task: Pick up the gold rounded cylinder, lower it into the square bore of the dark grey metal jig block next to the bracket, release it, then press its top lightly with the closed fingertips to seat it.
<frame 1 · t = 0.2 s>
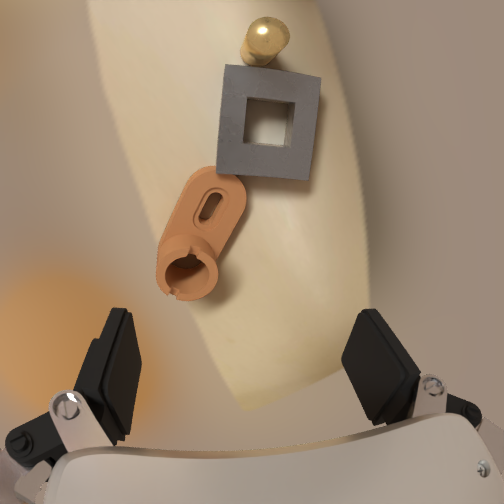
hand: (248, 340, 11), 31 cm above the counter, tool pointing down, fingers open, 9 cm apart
jig: (264, 122, 35), on the counter
bracket: (198, 222, 41), on the counter, touching jig
gold rounded cylinder: (256, 52, 31), on the counter
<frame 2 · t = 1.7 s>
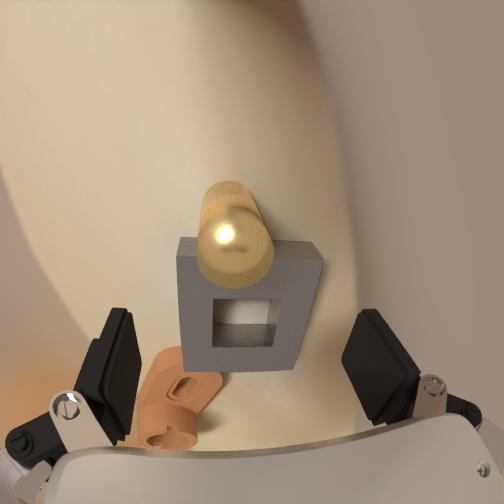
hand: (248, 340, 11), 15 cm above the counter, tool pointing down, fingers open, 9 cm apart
jig: (241, 302, 29), on the counter
bracket: (174, 384, 35), on the counter, touching jig
gold rounded cylinder: (227, 206, 24), on the counter
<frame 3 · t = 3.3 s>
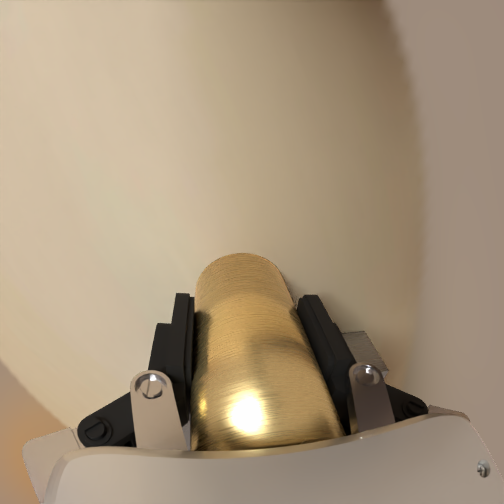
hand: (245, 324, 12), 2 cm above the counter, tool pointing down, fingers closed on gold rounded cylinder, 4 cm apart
jig: (258, 405, 19), on the counter
gold rounded cylinder: (240, 293, 14), on the counter, touching gripper
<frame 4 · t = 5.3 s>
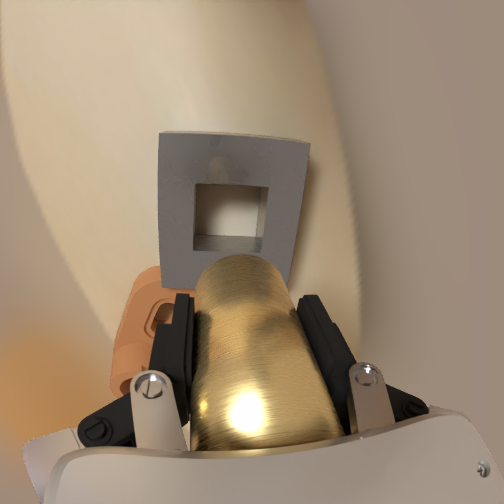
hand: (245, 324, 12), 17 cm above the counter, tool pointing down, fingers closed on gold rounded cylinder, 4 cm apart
jig: (227, 206, 27), on the counter
bracket: (154, 323, 33), on the counter, touching jig
gold rounded cylinder: (240, 294, 14), point 14 cm above the counter, touching gripper
when the fingers open (4 cm above the counter, at t = 7.4 s): gold rounded cylinder drops 1 cm, resting in jig.
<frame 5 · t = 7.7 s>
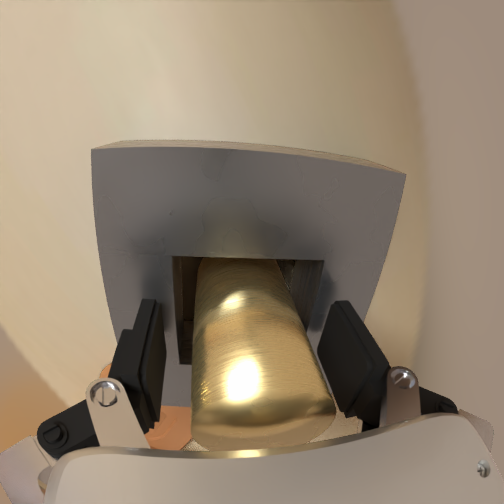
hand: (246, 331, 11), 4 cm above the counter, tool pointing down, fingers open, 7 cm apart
jig: (238, 278, 15), on the counter
bracket: (137, 412, 21), on the counter, touching jig
gold rounded cylinder: (238, 277, 15), resting in jig
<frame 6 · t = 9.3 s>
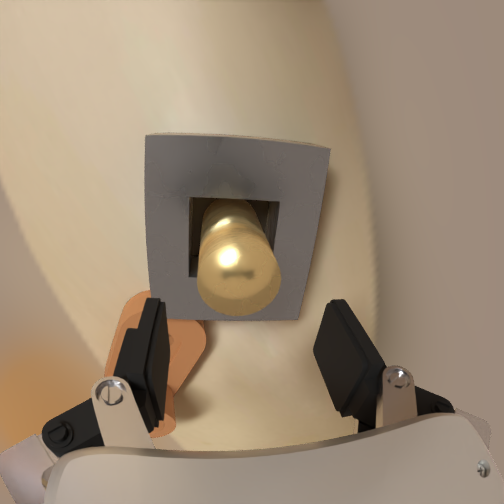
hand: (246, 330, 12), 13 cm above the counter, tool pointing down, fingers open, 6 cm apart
jig: (229, 223, 23), on the counter
bracket: (148, 350, 29), on the counter, touching jig
gold rounded cylinder: (229, 222, 23), resting in jig
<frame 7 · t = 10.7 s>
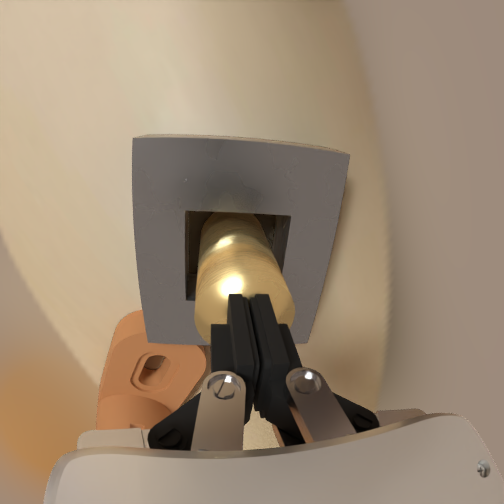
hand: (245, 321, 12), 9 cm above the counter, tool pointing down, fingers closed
jig: (231, 237, 20), on the counter
bracket: (144, 369, 26), on the counter, touching jig
gold rounded cylinder: (232, 237, 20), resting in jig
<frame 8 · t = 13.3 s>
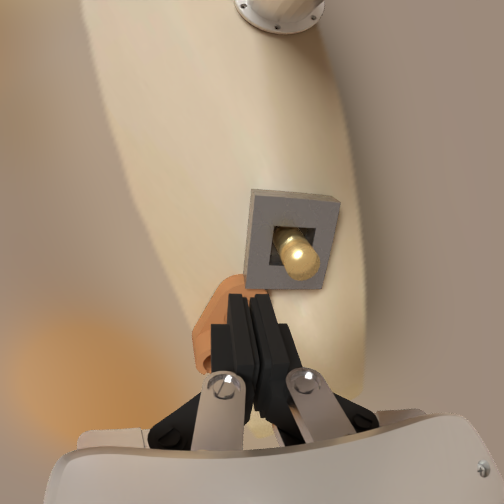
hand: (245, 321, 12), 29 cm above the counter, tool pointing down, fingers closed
jig: (286, 237, 43), on the counter
bracket: (226, 314, 49), on the counter, touching jig
gold rounded cylinder: (286, 236, 43), resting in jig
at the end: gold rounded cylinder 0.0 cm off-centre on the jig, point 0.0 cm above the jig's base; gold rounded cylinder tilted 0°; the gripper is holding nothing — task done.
